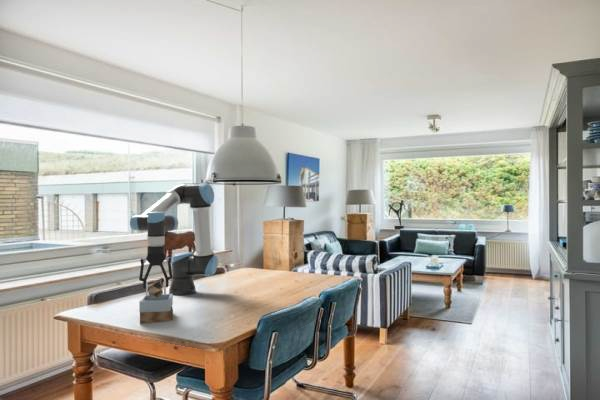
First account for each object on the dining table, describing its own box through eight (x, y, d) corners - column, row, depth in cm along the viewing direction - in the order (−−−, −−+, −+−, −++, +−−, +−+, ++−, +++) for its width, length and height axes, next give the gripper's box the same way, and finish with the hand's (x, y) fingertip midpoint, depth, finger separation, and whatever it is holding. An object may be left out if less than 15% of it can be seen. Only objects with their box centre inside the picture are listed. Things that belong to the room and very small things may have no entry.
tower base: (171, 313, 202) (171, 303, 202) (172, 321, 189) (172, 310, 189) (140, 316, 198) (140, 306, 198) (139, 324, 184) (139, 313, 184)
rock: (173, 292, 194) (165, 276, 199) (163, 288, 188) (155, 272, 193) (159, 304, 194) (151, 289, 199) (149, 301, 188) (141, 285, 193)
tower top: (172, 304, 201) (172, 293, 201) (169, 311, 188) (170, 300, 188) (144, 305, 198) (144, 295, 198) (139, 312, 186) (139, 301, 186)
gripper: (178, 243, 200) (177, 291, 200) (132, 245, 193) (132, 294, 193) (179, 245, 193) (179, 295, 193) (132, 246, 186) (132, 298, 186)
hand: (155, 294), depth 193 cm, fingers closed on rock, 7 cm apart
